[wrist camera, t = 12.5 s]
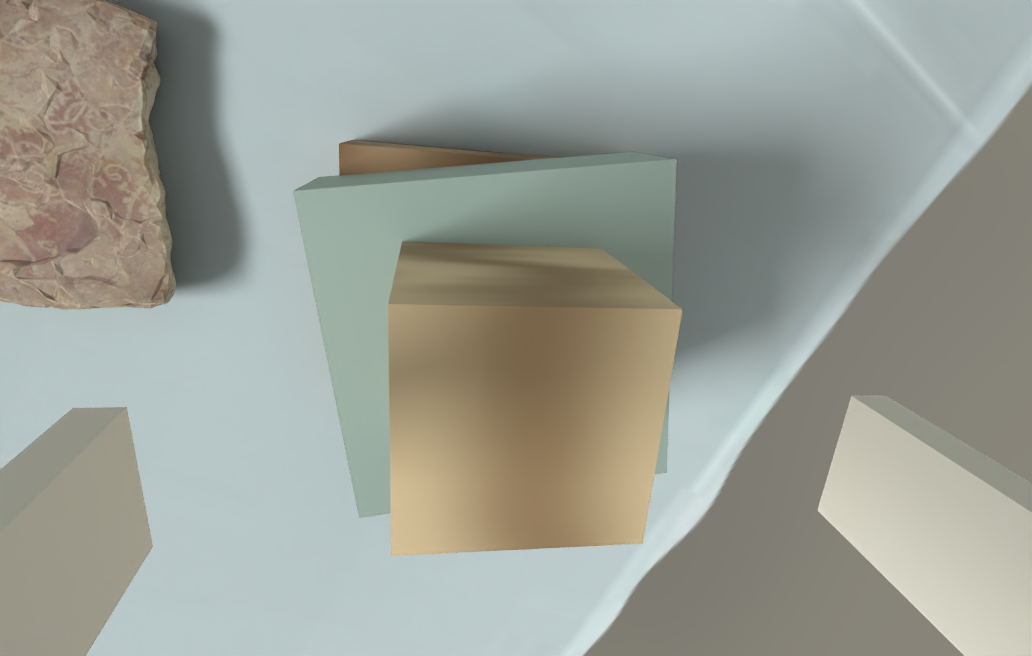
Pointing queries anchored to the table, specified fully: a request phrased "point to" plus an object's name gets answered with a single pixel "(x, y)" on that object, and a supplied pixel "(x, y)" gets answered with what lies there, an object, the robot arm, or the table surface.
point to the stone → (80, 158)
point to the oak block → (523, 397)
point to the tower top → (466, 220)
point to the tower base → (413, 157)
